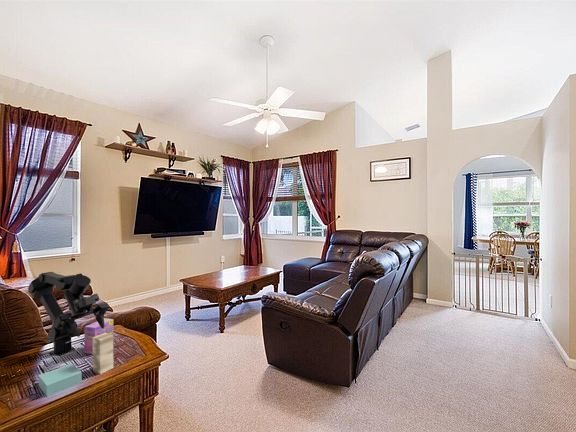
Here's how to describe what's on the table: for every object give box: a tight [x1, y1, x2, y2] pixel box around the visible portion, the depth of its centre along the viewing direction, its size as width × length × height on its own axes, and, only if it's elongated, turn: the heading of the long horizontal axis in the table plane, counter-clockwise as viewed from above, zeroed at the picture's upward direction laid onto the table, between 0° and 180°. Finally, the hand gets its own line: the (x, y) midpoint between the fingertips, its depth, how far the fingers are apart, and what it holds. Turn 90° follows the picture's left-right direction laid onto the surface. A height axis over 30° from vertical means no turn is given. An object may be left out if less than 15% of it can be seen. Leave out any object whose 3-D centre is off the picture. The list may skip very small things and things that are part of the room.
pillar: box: [92, 333, 114, 375], centre depth 114 cm, size 5×5×13 cm
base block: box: [38, 363, 83, 397], centre depth 105 cm, size 10×10×4 cm
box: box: [83, 317, 114, 355], centre depth 132 cm, size 10×6×12 cm, turn 168°
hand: (91, 331), depth 118 cm, fingers open, 9 cm apart
